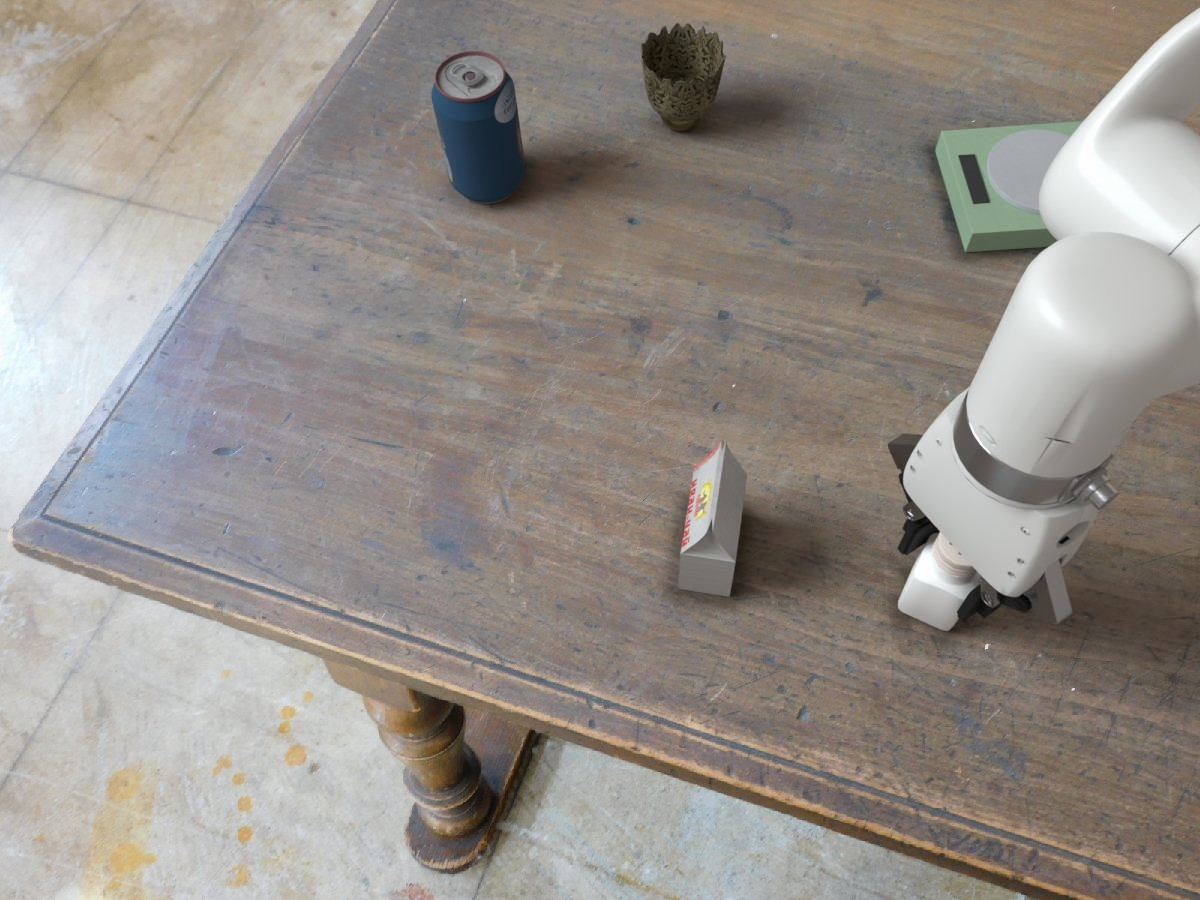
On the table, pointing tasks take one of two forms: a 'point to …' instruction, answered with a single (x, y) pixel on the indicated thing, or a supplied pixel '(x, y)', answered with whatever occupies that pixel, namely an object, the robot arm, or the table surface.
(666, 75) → the cup
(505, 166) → the soda can
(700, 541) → the grey upright carton
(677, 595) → the table surface
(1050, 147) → the kitchen scale
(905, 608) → the pepper shaker
